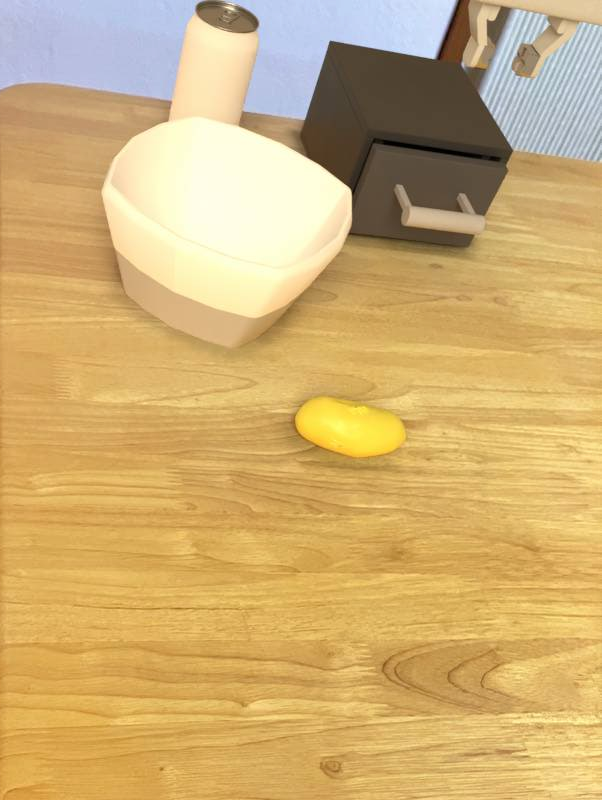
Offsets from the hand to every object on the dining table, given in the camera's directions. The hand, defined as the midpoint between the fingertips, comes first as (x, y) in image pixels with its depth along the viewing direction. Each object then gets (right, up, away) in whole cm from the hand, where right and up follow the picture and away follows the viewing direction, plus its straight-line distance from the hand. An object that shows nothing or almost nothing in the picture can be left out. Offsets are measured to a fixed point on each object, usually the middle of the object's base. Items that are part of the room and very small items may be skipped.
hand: (497, 69), depth 67 cm
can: (-23, +2, +17) cm, 29 cm away
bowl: (-22, -16, +4) cm, 28 cm away
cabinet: (-5, -1, +20) cm, 20 cm away
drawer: (-4, -5, +16) cm, 17 cm away
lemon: (-12, -29, -3) cm, 32 cm away
